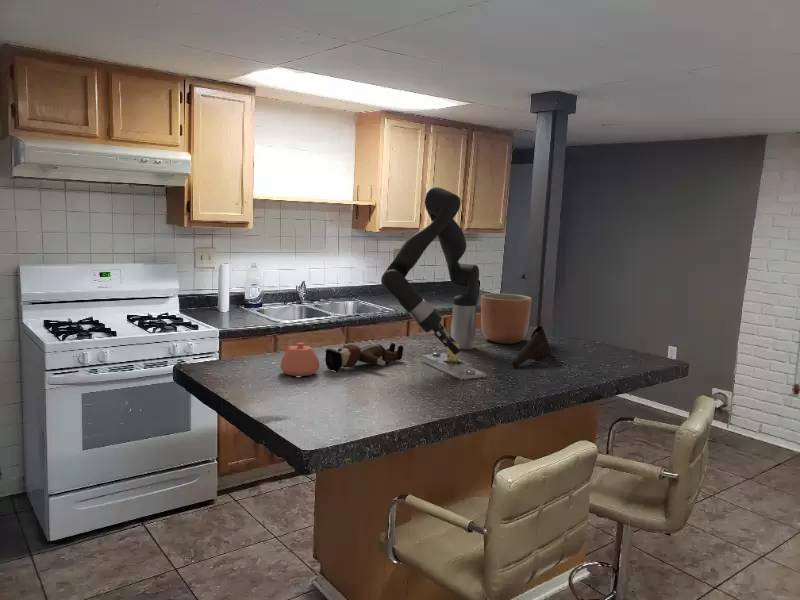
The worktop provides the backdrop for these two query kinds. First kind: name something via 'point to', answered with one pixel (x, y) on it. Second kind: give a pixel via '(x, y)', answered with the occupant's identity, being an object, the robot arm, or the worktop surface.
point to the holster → (534, 348)
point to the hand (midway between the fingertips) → (457, 350)
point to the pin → (452, 355)
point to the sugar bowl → (299, 360)
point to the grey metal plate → (452, 366)
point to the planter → (505, 317)
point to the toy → (361, 355)
